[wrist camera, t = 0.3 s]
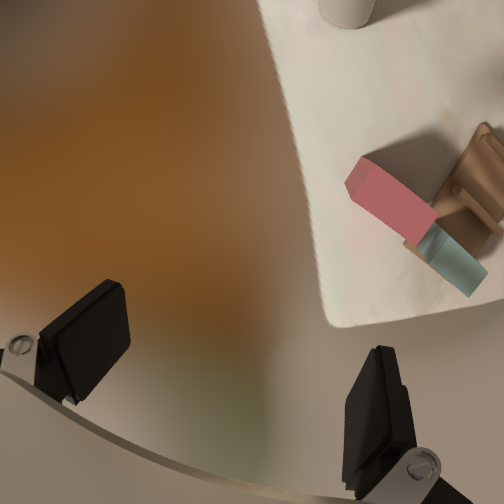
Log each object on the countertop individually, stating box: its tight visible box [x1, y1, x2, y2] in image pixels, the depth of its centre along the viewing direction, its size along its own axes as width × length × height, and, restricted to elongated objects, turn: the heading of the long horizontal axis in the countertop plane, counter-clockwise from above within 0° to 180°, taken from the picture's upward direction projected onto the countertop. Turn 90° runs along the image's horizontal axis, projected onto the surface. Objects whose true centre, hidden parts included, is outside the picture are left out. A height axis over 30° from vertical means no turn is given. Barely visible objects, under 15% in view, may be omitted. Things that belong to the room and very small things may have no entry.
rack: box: [403, 124, 504, 298], centre depth 28 cm, size 20×10×7 cm, turn 151°
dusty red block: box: [344, 156, 439, 247], centre depth 29 cm, size 4×8×10 cm, turn 61°
